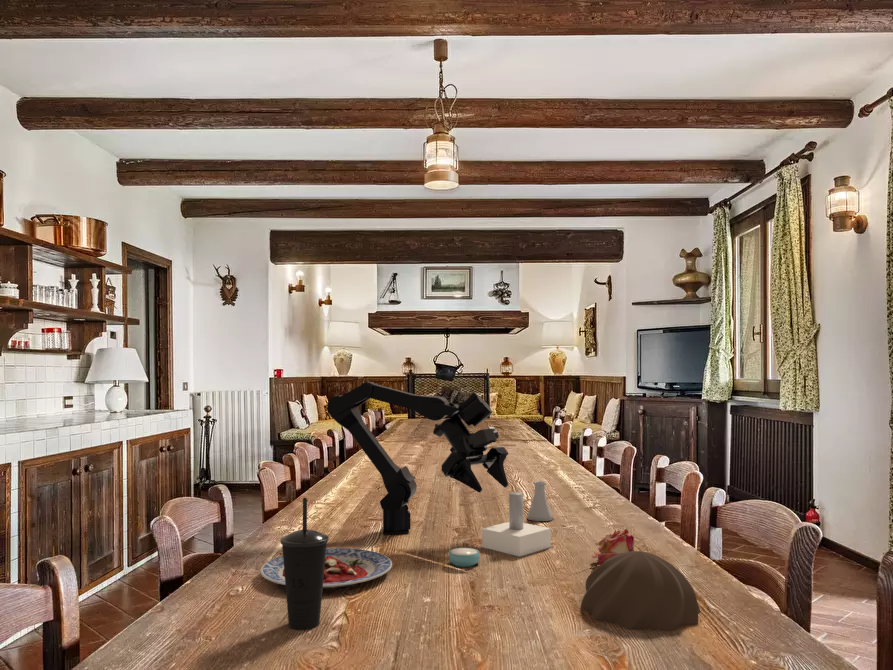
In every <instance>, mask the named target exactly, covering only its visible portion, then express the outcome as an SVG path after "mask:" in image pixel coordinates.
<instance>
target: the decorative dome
mask: <svg viewBox="0 0 893 670" xmlns="http://www.w3.org/2000/svg"><path fill="white" fill-rule="evenodd" d="M585 580H586V581H585V583H584V584H585V591H586V592H585V593H584V595H583V597H582V599H581V603H580V608H581V609H583V610H585V611H587V612H589V613H591V615H592V617H593V620H595V621H598V622H604V623H610V624H614V625H617V626H619V627H622V628H624V629H627V630H629V631H633V630H634V631H635V630H636V631H637V630H656V631H662V632H663V631H664V632H673V631H675V630H676V629H678V628H679V627H684V626H695V625H698V624H699V615H700V613H701V609H700V608H701V607H700V606H699V601H698V598H697V596H696V593H695V591H694V589H693V585H691V583H690V582H689V580H688V579H687V578H686V577H685V576H684V574H683V573H682V572H681V571H680V570H679V569H678V568H676V567H675V566H674V565H672V563H670V562H668V561H667V560H665V559H664V558H662V557H660V556H658V555H656V554H653V553H651V552H647V551H641V550H634V551H630V552H625V553H620V554H617V555H614V556H612V557H610V558H609V559H607V560H606V561H605V562H604V563H603V564H602V565H598V567H596V568H595V569H594V570H592V571H591V573H590V574H589V575H588V576H587V578H586V579H585Z"/></svg>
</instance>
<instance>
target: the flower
mask: <svg viewBox="0 0 893 670" xmlns="http://www.w3.org/2000/svg"><path fill="white" fill-rule="evenodd" d="M634 538H635V537H634V536H633V534H632V533H630V531H629V530H628V529H627V528H625V529H623V530H622V531H620V530H619V529H618V530H617V528H615V529H614V531H613V533H610V534H607V535H605V536H604V537H603V538H601V539H600V540H599V541H597V543H595V545H596V546H598V548H597V550H598V551H597V552H596V551H595V552H593V553H592V554H591V558H593V559H596V558H597V560H596V563H597V564H598V566H600V565H602V564H603V563H604V562H605V561H606V560H607V559H609V558H610V557H612V556H614V555H617V554H620V553H625V552H630V551H635V547H634V544H635V542H634V541H635V540H634Z"/></svg>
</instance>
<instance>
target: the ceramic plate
mask: <svg viewBox="0 0 893 670" xmlns="http://www.w3.org/2000/svg"><path fill="white" fill-rule="evenodd" d="M392 566H393V562H392V560H391V559H390V557H388V556H386V555H385V554H382V553H379V552H376V551H371V550H366V549H360V548H344V547H335V548H334V547H331V548H330V547H329V548H326V557H325V568H324V579H323V590H324V589H337V588H344V587H349V586H353V585H356V584H361V583H364V582H365V583H366V582H368V581H371V580H375V579H377V578H380V577H382V576H384V575H385V574H386V573H388V572H389V571H390V570H391V569H392ZM259 571H260V575H261V576H262V577H263V578H264V579H266V580H267V581H268V582H272V583H274V584H278V585H283V586H286V585H285V573H284V561H283V555H280V556H277V557H273V558H272V559H270V560H268V561H267V562H265V563H264V564H263V565H262V566H261V567H260V570H259Z"/></svg>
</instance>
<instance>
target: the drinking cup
mask: <svg viewBox="0 0 893 670" xmlns="http://www.w3.org/2000/svg"><path fill="white" fill-rule="evenodd" d="M329 538H330V537H329V536H328V534H325V533H322V532H320V531H318V530H315V529H308V497H302V529H298V530H295V531H291V532H290V533H288V534H286V535H284V536H282V537H281V538H280V540H279V542H280V544H281V545H282V547H281V548H282V556H283V561H284V573H285V585H284V586H285V595H286V608H287V617H288V618H287V619H288V627H289V628H290V629H292V630H297V631H298V630H299V631H303V630H311V629H313V628H317V627H318V626H319V625H320V622H321V621H320V620H321V611H322V598H323V591H324V589H323V579H324V568H325V557H326V549H327V543H328V542H329Z"/></svg>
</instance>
